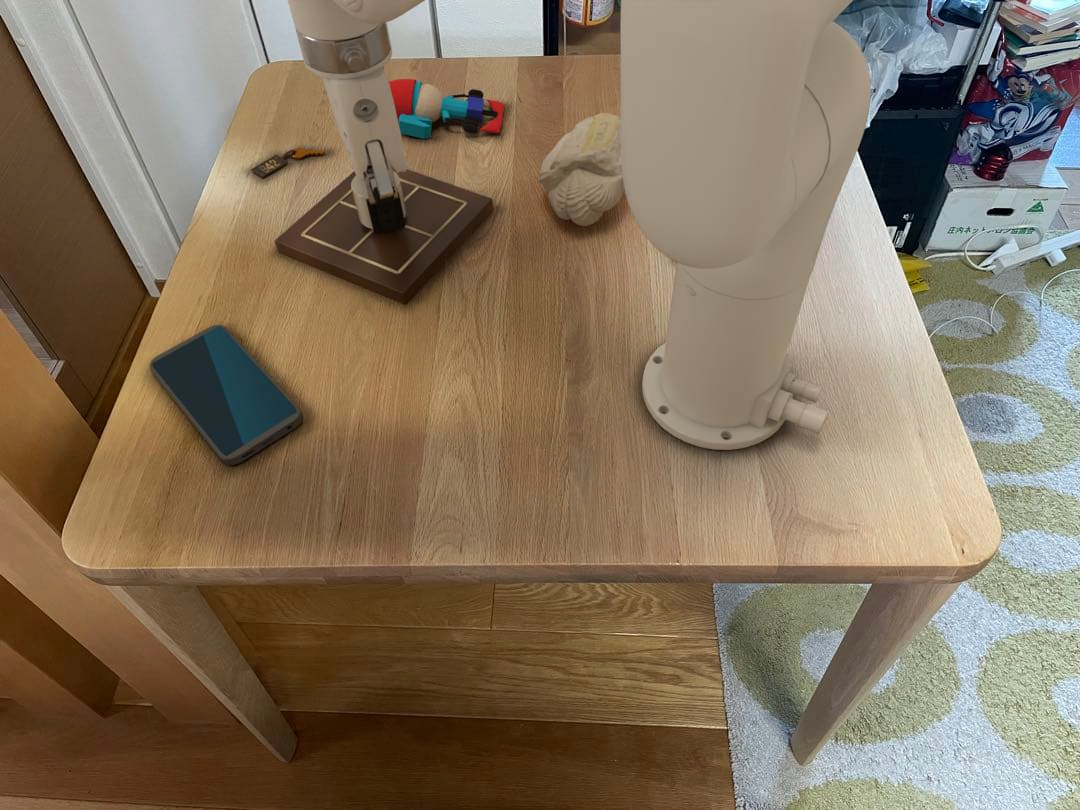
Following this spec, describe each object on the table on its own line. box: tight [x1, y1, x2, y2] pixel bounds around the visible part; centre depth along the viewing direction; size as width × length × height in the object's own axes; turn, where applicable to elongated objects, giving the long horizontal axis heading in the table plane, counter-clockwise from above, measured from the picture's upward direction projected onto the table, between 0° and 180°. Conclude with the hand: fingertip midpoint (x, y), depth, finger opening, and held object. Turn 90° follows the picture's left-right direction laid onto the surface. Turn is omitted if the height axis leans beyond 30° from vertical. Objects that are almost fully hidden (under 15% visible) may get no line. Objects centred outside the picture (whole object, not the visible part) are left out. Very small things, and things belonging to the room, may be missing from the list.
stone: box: [351, 168, 406, 229], centre depth 82 cm, size 5×5×4 cm
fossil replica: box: [538, 112, 625, 227], centre depth 84 cm, size 12×8×10 cm
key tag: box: [250, 147, 326, 179], centre depth 93 cm, size 8×3×1 cm, turn 124°
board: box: [274, 167, 495, 305], centre depth 85 cm, size 16×16×2 cm
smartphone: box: [149, 324, 304, 466], centre depth 72 cm, size 8×15×1 cm, turn 42°
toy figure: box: [388, 78, 506, 140], centre depth 96 cm, size 8×5×15 cm
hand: (383, 211), depth 83 cm, fingers closed on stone, 4 cm apart
